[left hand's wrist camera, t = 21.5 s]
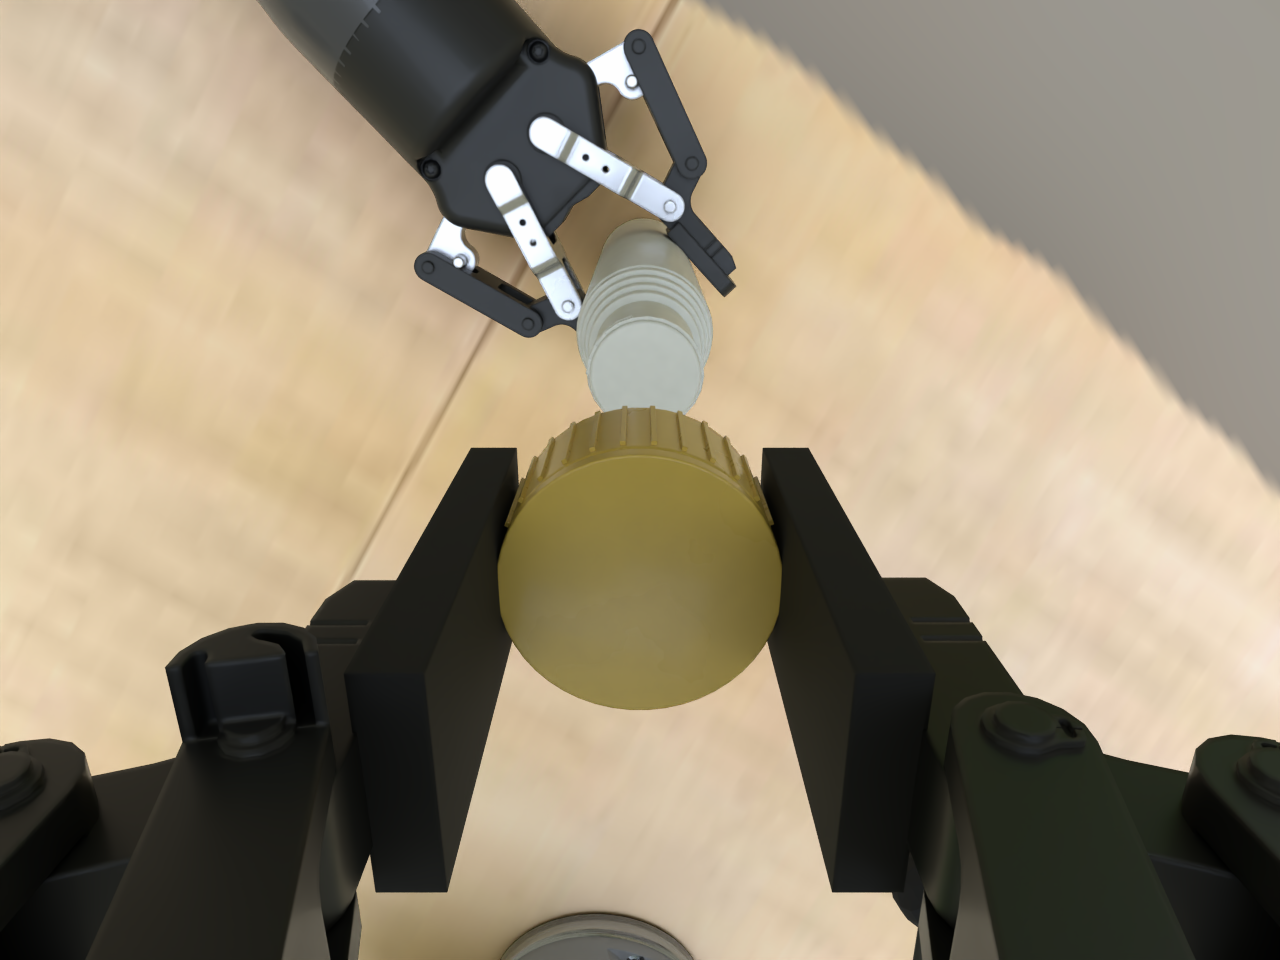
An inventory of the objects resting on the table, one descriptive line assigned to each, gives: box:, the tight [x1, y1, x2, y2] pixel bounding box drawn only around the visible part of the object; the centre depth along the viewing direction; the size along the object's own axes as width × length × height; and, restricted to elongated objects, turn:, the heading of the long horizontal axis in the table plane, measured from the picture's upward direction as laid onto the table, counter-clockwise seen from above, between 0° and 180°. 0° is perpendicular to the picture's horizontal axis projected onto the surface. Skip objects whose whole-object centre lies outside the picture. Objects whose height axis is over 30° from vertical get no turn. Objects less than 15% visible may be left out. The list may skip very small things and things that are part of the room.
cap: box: [497, 406, 782, 710], centre depth 13 cm, size 4×4×2 cm
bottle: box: [576, 218, 713, 415], centre depth 33 cm, size 4×4×23 cm
